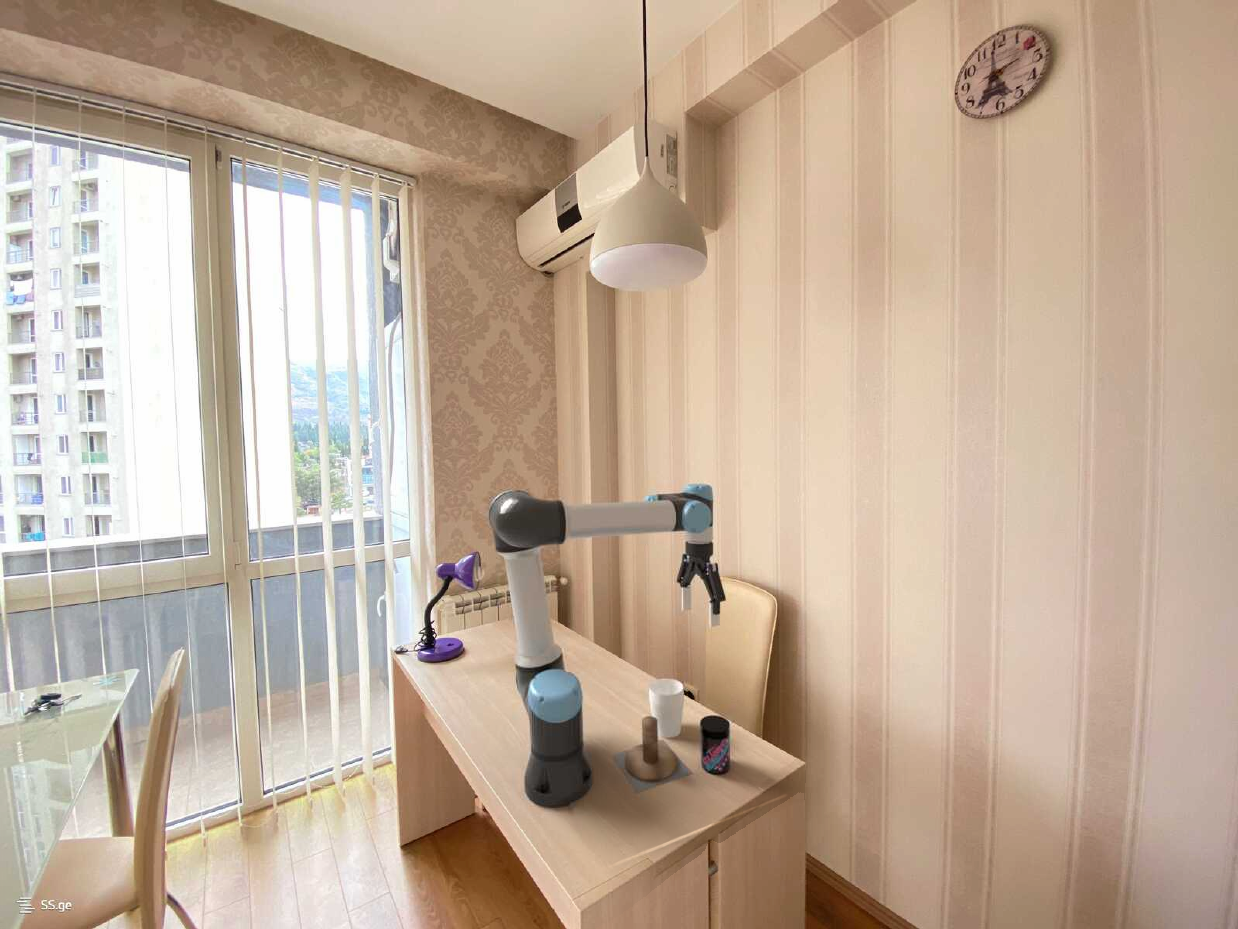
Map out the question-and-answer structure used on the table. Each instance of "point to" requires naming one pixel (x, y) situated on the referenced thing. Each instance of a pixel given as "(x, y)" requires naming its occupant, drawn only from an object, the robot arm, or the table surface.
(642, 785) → the mat
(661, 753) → the lid
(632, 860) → the table surface
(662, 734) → the cup
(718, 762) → the supplement container
